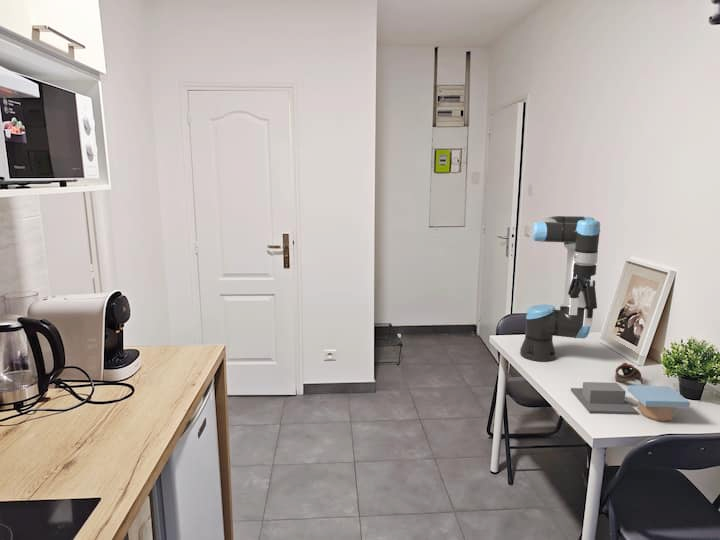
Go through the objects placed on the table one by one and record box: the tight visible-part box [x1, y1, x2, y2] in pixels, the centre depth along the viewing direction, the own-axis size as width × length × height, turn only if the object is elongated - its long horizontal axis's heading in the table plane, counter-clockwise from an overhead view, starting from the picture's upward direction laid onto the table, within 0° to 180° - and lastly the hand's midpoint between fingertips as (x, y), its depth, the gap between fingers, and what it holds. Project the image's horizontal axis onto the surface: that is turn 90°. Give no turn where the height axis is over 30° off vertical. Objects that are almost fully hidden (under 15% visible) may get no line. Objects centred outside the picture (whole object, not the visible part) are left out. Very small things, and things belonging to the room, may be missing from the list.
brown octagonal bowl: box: [637, 400, 677, 422], centre depth 165 cm, size 10×10×6 cm
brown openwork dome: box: [614, 362, 644, 385], centre depth 193 cm, size 12×10×8 cm
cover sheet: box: [627, 384, 691, 408], centre depth 165 cm, size 12×14×2 cm
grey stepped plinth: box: [570, 381, 639, 415], centre depth 175 cm, size 18×16×6 cm
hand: (579, 320), depth 177 cm, fingers open, 13 cm apart
